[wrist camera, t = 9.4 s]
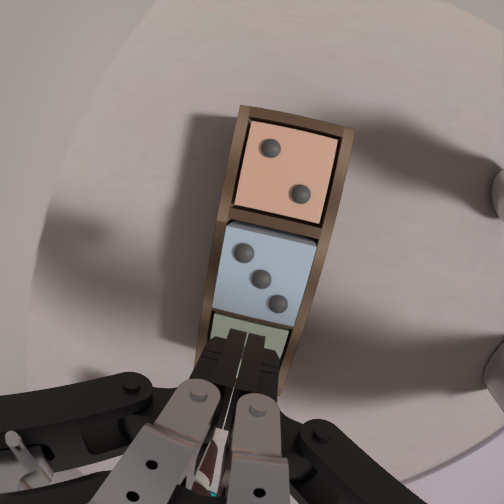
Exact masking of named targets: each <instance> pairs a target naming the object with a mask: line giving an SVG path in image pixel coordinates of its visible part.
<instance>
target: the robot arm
mask: <svg viewBox="0 0 504 504" xmlns="http://www.w3.org/2000/svg"><path fill="white" fill-rule="evenodd" d="M246 336H247V332H245V331H241V330H237V329H233V328H230V330H229V333H228V336H227V338H226V339H225V338H221V337H217V336H215V337H213V338H212V339H210V340H208V341H207V343H206V345H205V347H204V349H203V351H202V353H201V356H200V357H199V359H198V361H197V363H196V365H195V368H194V370H193V372H192V374H191V376H190V378H189V380H186V381H184V382H182V383H181V384H180V385H179V386H178V387H177V388H156V387H152V383H151V382H150V380H149V379H148V378H147V377H145V376H144V375H142V374H139V373H135V372H123V373H119V374H115V375H111V376H107V377H102V378H98V379H94V380H89V381H85V382H80V383H75V384H70V385H65V386H60V387H55V388H49V389H44V390H38V391H32V392H25V393H19V394H11V395H3V396H0V504H290V494H291V495H292V496H293V498H294V499H295V500H296V501H297V502H298V503H299V504H427V503H426V502H424V501H423V500H422V499H420V498H419V497H418V496H416V495H415V494H414V493H413V492H411V491H410V490H409V489H407V488H406V487H405V486H404V485H403V484H401V483H400V482H399V481H398V480H397V479H395V478H394V477H393V476H392V475H391V474H389V473H388V472H387V471H386V470H385V469H383V468H382V467H381V466H380V465H379V464H378V463H376V462H375V461H374V460H373V459H372V458H371V457H370V456H368V455H367V454H366V453H365V452H364V451H363V450H362V449H361V448H359V447H358V446H357V445H356V444H355V443H354V442H353V441H352V440H351V439H350V438H348V437H347V436H346V435H345V434H344V433H343V432H342V431H341V430H340V429H339V428H338V427H337V426H335V425H334V424H333V423H331V422H329V421H326V420H322V419H313V420H309V421H307V422H305V423H304V424H302V423H299V422H297V421H294V420H292V419H290V418H288V417H287V416H285V415H284V414H283V413H282V412H281V411H280V409H279V406H278V404H277V393H278V379H279V376H278V375H279V364H280V358H279V356H278V354H277V353H276V351H275V350H271V349H266V348H264V345H265V338H266V336H262V335H258V334H253V333H249V334H248V338H247V342H246V346H245V349H244V353H243V357H242V361H241V365H240V369H239V372H238V368H239V364H240V360H241V356H242V352H243V348H244V344H245V340H246ZM237 372H238V376H237ZM236 376H237V380H236V384H235V387H234V383H235V379H236ZM483 380H484V383H485V384H486V386H487V387H488V391H489V392H490V393H491V395H492V396H493V398H494V399H495V400H496V402H497V403H498V405H499V406H500V408H501V409H502V411H503V412H504V342H503V343H502V344H501V345H500V346H499V347H498V348H497V349H496V351H495V352H494V353H493V355H492V356H491V358H490V360H489V361H488V363H487V365H486V368H485V371H484V375H483ZM233 387H234V391H233ZM232 391H233V395H232V399H231V403H230V407H229V411H228V415H227V419H226V423H225V426H224V430H227V431H229V433H228V437H227V441H226V444H225V448H224V454H223V461H222V467H221V474H220V480H219V487H218V491H217V496H203V495H200V494H197V493H195V492H193V491H191V489H192V486H193V483H194V480H195V478H196V475H197V473H198V471H199V469H200V466H201V464H202V462H203V459H204V457H205V455H206V452H207V450H208V448H209V445H210V442H211V440H212V439H213V437H214V434H215V430H216V428H219V429H222V427H223V423H224V420H225V416H226V412H227V409H228V405H229V402H230V398H231V394H232ZM120 455H123V456H122V457H121V459H120V460H119V461H118V463H117V464H116V466H115V467H114V468H113V470H110V471H101V472H96V473H92V474H89V475H86V476H82V477H79V478H75V479H72V480H68V481H64V482H60V483H56V484H52V485H49V484H50V482H51V481H52V479H53V475H54V472H59V471H64V470H69V469H73V468H77V467H81V466H85V465H89V464H93V463H96V462H100V461H103V460H107V459H110V458H113V457H116V456H120Z"/></svg>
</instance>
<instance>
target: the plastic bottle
mask: <svg viewBox="0 0 504 504" xmlns="http://www.w3.org/2000/svg"><path fill="white" fill-rule="evenodd" d="M492 202H493V206H494V209H495V211H496V213H497V215H498V216H499V218H500V219H501V220H502V221H503V222H504V169H502V170H501V171H500V172H499V173H498V174H497V175H496V177H495V179H494V181H493V185H492Z"/></svg>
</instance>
